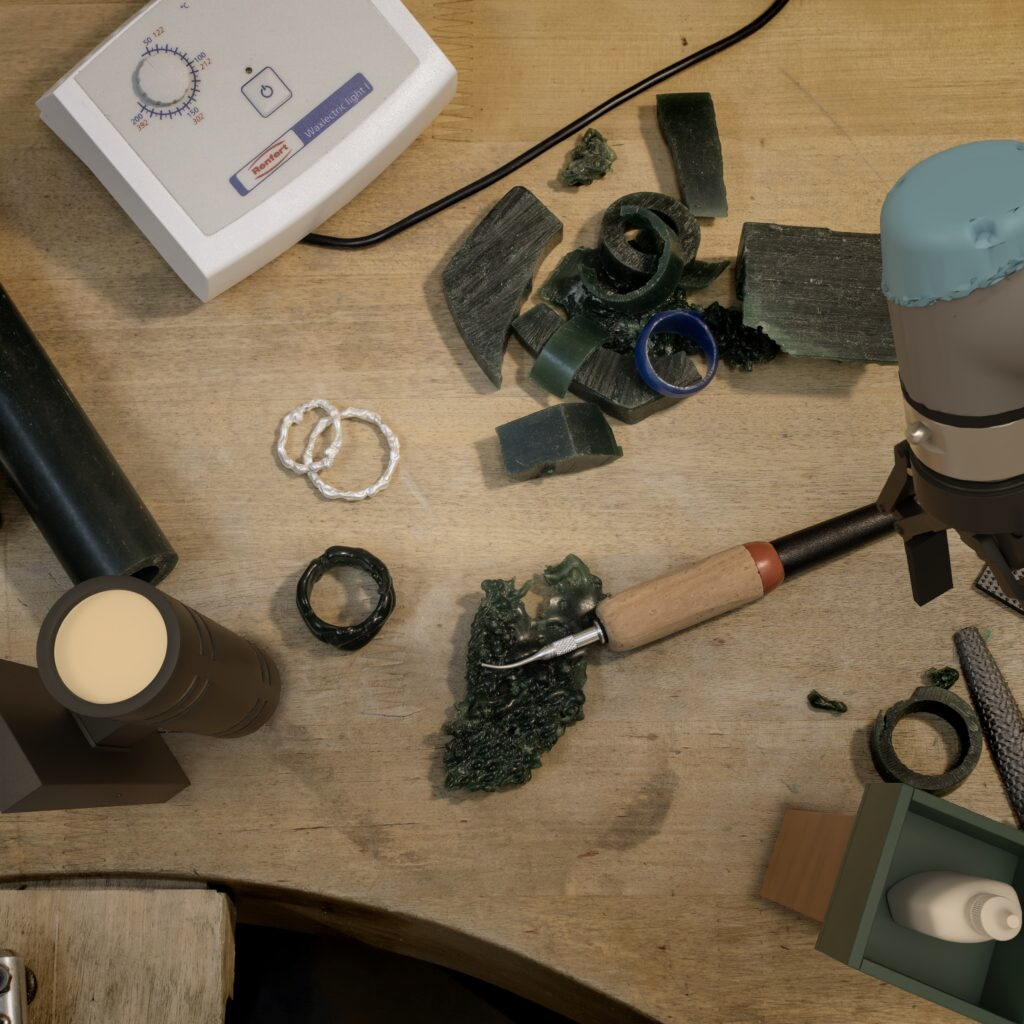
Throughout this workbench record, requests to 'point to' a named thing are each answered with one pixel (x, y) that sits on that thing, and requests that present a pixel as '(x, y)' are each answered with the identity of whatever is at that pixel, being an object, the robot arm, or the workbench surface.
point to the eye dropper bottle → (956, 907)
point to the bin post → (807, 860)
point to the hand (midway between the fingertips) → (1001, 660)
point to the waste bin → (908, 953)
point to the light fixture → (122, 697)
